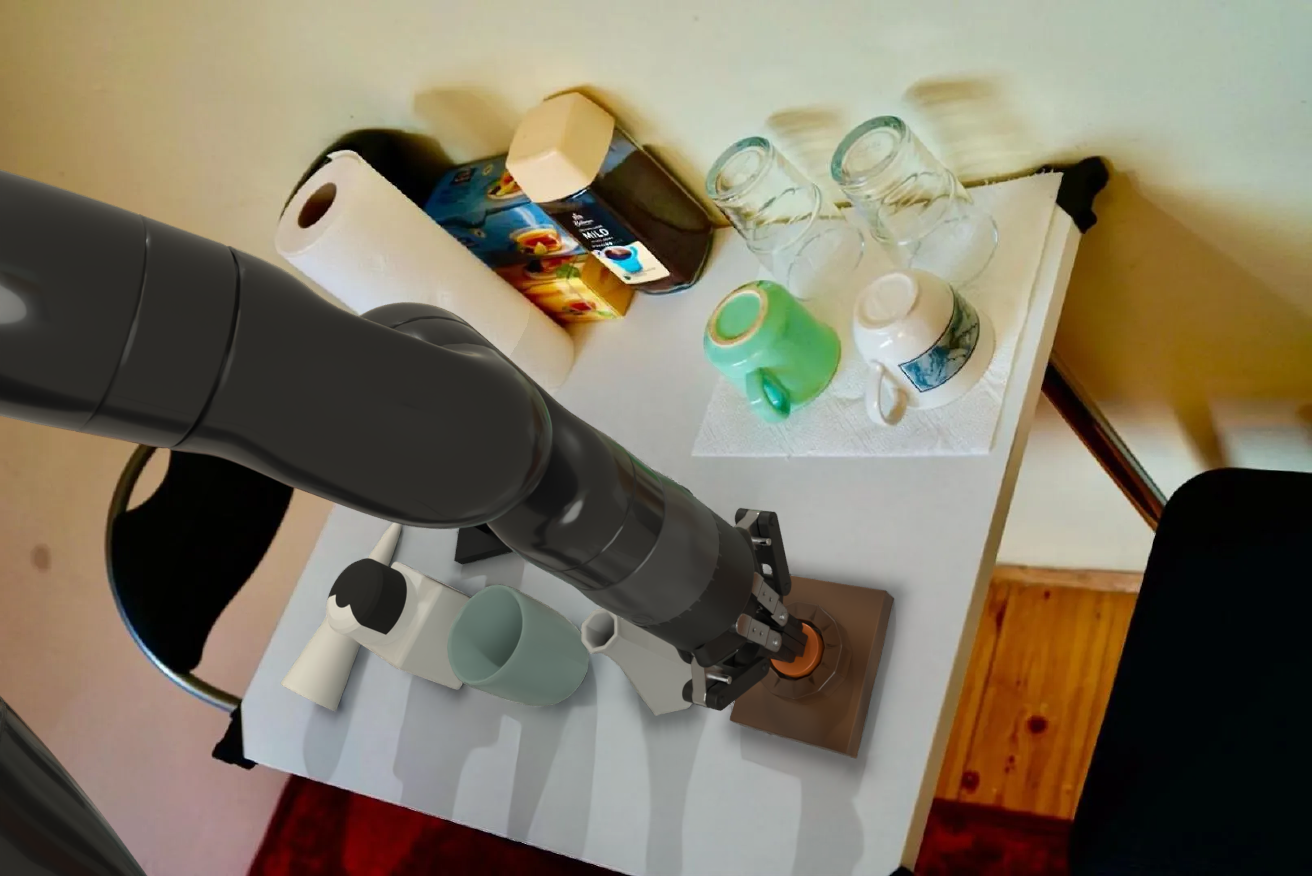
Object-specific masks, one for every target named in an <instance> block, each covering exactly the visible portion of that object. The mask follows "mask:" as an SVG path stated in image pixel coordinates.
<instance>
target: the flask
mask: <svg viewBox="0 0 1312 876" xmlns="http://www.w3.org/2000/svg"><path fill="white" fill-rule="evenodd" d="M580 633H581V641H582V643H583V644H584V645H585V647H586V648H587V649H588V653H590V654H591V655H596V654H597V655H598V654H602V655H604V656H606V657H608V658H609V659H610V660H612V662H614V663H615V664H616V665H617V666H618V667H620V669H621V670H622V672H623V673H624V675H625V677H626V678H627V680H628V682H629V683H630V685H631V686H632V688H633V689H634V690H635V691H636V693H637V694H638V695H639V697H640V698H641V700H643V702H644V703H645V704H646V705H647V707H648V708H649V709H650V711H651V712H652V714H654V717H655V716H656V717H657V716H661V715H664V714H669V713H674V712H677V711H682V710H687V709H689V708H690V706H691V705H692V704H693V703H690V702H686V701H684V700H683V698H682V690H683V687H684V685H685V683H686V682H687V681H689V680H690V679H692V673H691V664H688V663H686V662H684V661H683V660H682V659H681V658H680V656H679V654H678V651H677V649H676V648H675V647H674V646H673V645H671V644H669V643H667V642H666V641H664V640H662V639H660V638H658V637H656V636H654V635H652V634H651V633H649V632H647V631H645V630H643V629H641V628H639V627H637V626H636V625H634V624H632V623H630V622H628V621H626V620H624V619H622V618H621V617H619V616H617V615H615V614H613V613H611V612H609V611H608V610H606V609H604V608H602V607H599V608H597V609H594V610H592V611H591V612H590V613H589V614H588V616H587V617H586V618H585V619H584V620H583V621H582V623H581V631H580Z"/></svg>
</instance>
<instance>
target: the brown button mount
mask: <svg viewBox="0 0 1312 876" xmlns="http://www.w3.org/2000/svg"><path fill="white" fill-rule="evenodd" d="M770 574H772V572H771V573H770ZM772 575H773V574H772ZM790 578H791V591H790V593H789V594H788V595H787V596H783V605H784V606H785V607H786V608H787V609H788V613H790V614H791V615H792V616H794V617H795V618H797V619H798V620H799V621H801V622H802V623H804V624H807V625H808V626H810V627H811V628H813V629H814V630H815V631H817V632H818V633H819V634H821V635H822V637H823V641H824V645H825V649H824V653H823V657H822V661H821V664H820V665H819V666H818V667H817V668H816V669H815V670H814V672H813V673H812V674H811V675H810V676H808V677H805V678H802V679H799V680H794V679H792V678H790V677H788V676H787V675H785V674H783V673H782V672H780V671H779V670H778V669H776V667H775V666H774V665H773V663H772V661H771V658H769V657H768V659H769V662H770V668H769V672H768V674H767V675H766V676H765V677H764V678H763V679H762V680H760V681H759V682H758V683H757V684H755V685H754V686H753V687H751V688H750V689H749V690H748V691H746V692H745V693H744V694H742V695H741V696H740V697H739V698H737V699H736V700H735V701H733V706H732V709H731V712H730V717H729V721H730V722H732V723H735V724H737V725H738V726H741V727H745V728H748V729H752V730H755V731H758V732H762V733H765V734H769V735H772V736H775V737H779V738H782V739H786V740H790V741H793V742H796V743H799V744H803V745H807V746H810V747H813V748H817V749H821V750H823V751H826V752H830V753H834V754H837V755H841V756H845V757H848V758H852V759H855V760H857V758H858V754H859V751H860V746H861V743H862V738H863V734H864V730H865V726H866V720H867V717H868V711H869V709H870V703H871V700H872V695H873V691H874V687H875V683H876V678H877V674H878V669H879V665H880V661H881V656H882V652H883V648H884V644H885V639H886V636H887V630H888V627H889V622H890V618H891V614H892V609H893V606H894V601H895V598H894V597H893V596H892V595H891V594H890V593H889V592H888V591H887V590H885V589H878V588H872V587H866V586H859V585H853V584H847V583H841V582H835V581H828V580H823V579H816V578H811V577H803V576H797V575H791V574H790Z"/></svg>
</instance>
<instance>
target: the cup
mask: <svg viewBox="0 0 1312 876" xmlns="http://www.w3.org/2000/svg"><path fill="white" fill-rule="evenodd" d="M470 597H471V598H470V599H469V600H468V601H467V602H466V603H465V605H464V606H463V607H462V608H461V610H460V611H459V612H458V614H457V616H456V617H455V619H454V621H453V623H452V626H451V628H450V632H449V636H448V644H447V651H448V659H449V663H450V666H451V668H452V670H453V672H454V674H455V675H456V677H457V678H458V679H459V680H460V681H462V682H463V684H464V685H466V686H468V687H470V688H471V689H475V690H476V691H480V692H483V693H485V694H487V695H491V696H494V697H496V698H499V699H503V700H505V701H508V702H512V703H515V704H518V705H523V706H529V707H549V706H553V705H557V704H559V703H561V702H563V701H565V700H567V699H568V698H569V697H570V696H572V695H573V694H574V693H575V692H576V691H577V690H578V688H580V686H581V685H582V683H583V681H584V680H585V678H586V675H587V674H588V673H587V672H588V670H589V665H590V654H589V653H590V652H589V651H588V649H587V648H586V647H585V645H584V644H583V643H582V641H581V631H580V630H579V628H578V627H577V626H576V625H575V624H574V623H573V622H572V621H571V620H570V618H567V617H566V616H565V615H564V614H562V613H561V612H559V611H558V610H557V609H554V608H552V606H549V605H548V604H546V603H544V602H543V601H540V600H539V599H537V598H535V597H533V596H531V595H530V594H527V593H525V592H523V591H521V590H519V589H517V588H514V587H513V586H510V585H506V584H501V583H500V584H492V585H490V586H487V587H484V588H483V589H481V590H479V591H477V592H476V593H475V594H474V595H473V596H470Z"/></svg>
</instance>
